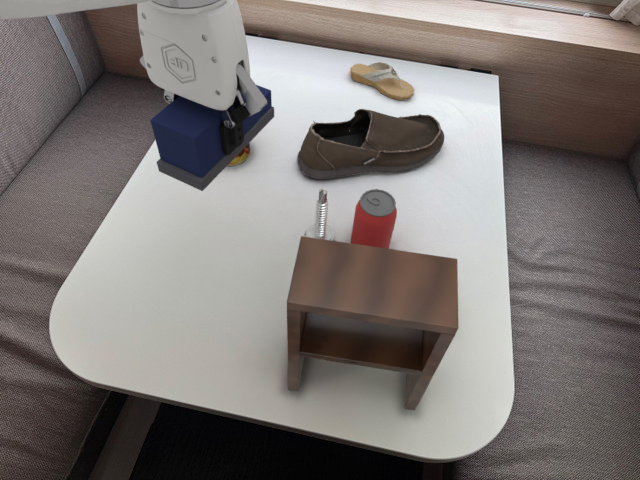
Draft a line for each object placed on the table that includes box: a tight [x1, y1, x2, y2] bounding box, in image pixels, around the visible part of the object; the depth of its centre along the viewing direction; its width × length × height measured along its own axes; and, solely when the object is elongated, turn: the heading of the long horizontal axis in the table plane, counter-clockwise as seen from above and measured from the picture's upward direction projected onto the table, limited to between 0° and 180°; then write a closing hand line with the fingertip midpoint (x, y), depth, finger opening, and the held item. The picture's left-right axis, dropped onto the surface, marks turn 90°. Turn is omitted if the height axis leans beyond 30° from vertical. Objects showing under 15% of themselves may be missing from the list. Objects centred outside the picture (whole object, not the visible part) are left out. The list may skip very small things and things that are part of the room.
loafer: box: [296, 108, 445, 180], centre depth 99 cm, size 11×30×11 cm, turn 110°
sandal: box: [349, 61, 415, 101], centre depth 116 cm, size 7×16×5 cm, turn 65°
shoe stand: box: [286, 236, 459, 411], centre depth 66 cm, size 18×9×24 cm, turn 82°
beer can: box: [349, 188, 398, 249], centre depth 85 cm, size 7×7×12 cm
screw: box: [305, 188, 335, 241], centre depth 85 cm, size 13×5×5 cm
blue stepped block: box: [149, 84, 275, 192], centre depth 59 cm, size 15×6×7 cm, turn 152°
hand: (210, 136), depth 59 cm, fingers closed on blue stepped block, 5 cm apart
